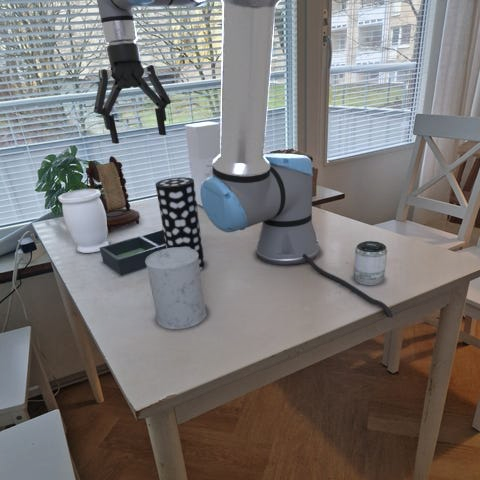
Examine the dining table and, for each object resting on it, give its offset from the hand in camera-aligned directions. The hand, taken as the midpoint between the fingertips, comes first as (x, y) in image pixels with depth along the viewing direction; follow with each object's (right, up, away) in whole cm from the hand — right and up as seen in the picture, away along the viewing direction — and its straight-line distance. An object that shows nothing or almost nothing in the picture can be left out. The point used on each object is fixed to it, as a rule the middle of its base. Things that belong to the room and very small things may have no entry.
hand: (140, 139), depth 114 cm
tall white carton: (+16, -7, +35) cm, 39 cm away
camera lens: (+54, -39, -23) cm, 70 cm away
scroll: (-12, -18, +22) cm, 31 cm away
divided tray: (+4, -31, -3) cm, 32 cm away
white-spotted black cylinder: (+14, -35, -10) cm, 39 cm away
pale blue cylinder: (+15, -47, -30) cm, 58 cm away
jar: (-14, -28, +6) cm, 32 cm away
